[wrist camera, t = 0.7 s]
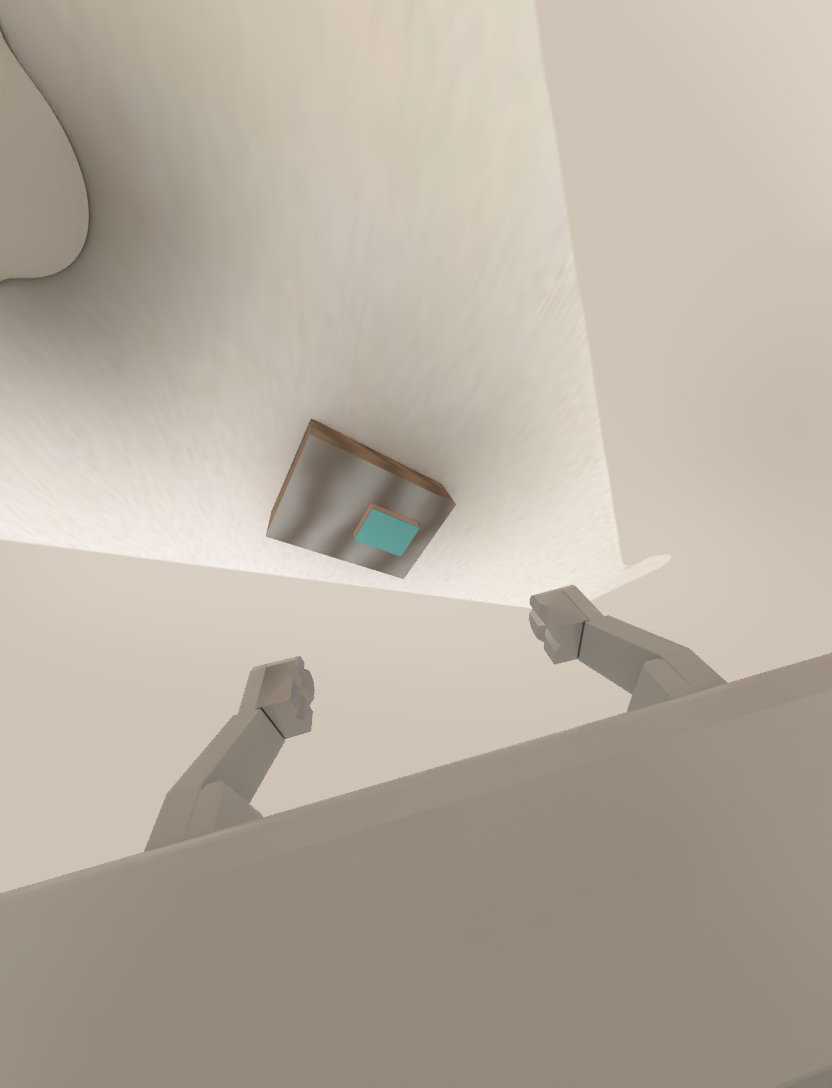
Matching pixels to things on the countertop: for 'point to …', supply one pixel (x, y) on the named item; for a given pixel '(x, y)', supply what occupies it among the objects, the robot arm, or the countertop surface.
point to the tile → (385, 530)
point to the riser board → (353, 500)
